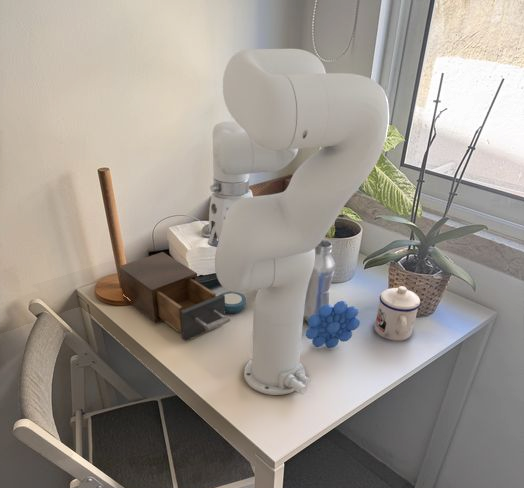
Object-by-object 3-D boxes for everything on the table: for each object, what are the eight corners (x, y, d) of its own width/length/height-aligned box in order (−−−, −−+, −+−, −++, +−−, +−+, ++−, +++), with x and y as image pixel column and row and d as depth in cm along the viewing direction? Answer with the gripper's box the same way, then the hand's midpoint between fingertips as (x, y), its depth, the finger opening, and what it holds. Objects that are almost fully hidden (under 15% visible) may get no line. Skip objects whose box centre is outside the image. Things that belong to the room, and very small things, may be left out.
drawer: (239, 332, 116) (239, 305, 112) (199, 351, 110) (197, 323, 106) (191, 299, 127) (189, 273, 123) (151, 315, 121) (148, 288, 116)
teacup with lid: (370, 319, 124) (379, 277, 117) (408, 321, 124) (418, 278, 117) (378, 348, 115) (387, 304, 108) (418, 350, 115) (430, 306, 108)
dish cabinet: (198, 305, 127) (197, 273, 121) (155, 323, 120) (151, 289, 114) (165, 283, 135) (162, 251, 130) (123, 298, 128) (118, 266, 123)
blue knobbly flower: (351, 336, 118) (359, 291, 111) (357, 353, 113) (365, 307, 106) (301, 336, 118) (306, 291, 110) (305, 354, 112) (310, 307, 105)
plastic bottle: (328, 313, 126) (338, 238, 114) (328, 329, 120) (338, 251, 108) (302, 311, 126) (309, 236, 114) (301, 326, 121) (308, 249, 109)
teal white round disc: (252, 309, 126) (252, 299, 125) (229, 319, 122) (229, 309, 121) (233, 297, 130) (233, 288, 129) (211, 306, 126) (210, 297, 125)
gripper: (212, 199, 102) (214, 280, 113) (271, 183, 111) (267, 260, 122) (190, 188, 106) (193, 268, 117) (248, 174, 115) (246, 249, 126)
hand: (231, 263), depth 119 cm, fingers closed
